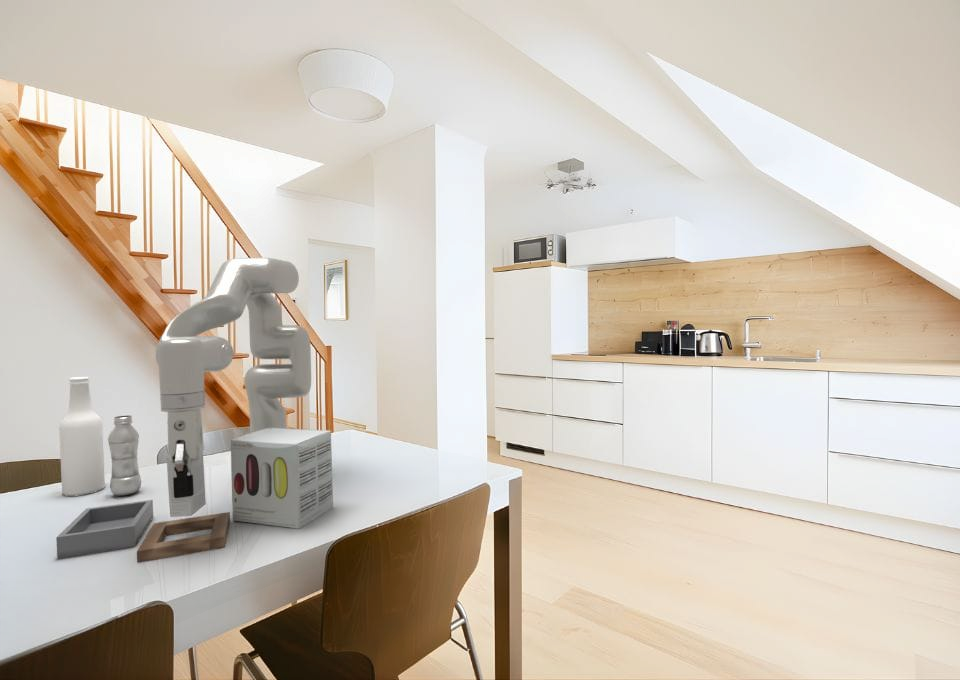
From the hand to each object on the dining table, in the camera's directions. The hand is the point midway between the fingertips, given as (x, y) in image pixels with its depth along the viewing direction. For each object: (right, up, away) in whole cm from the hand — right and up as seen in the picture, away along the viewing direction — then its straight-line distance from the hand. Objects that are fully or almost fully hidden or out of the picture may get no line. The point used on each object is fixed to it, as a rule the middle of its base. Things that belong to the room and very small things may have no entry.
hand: (187, 489), depth 98 cm
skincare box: (0, -5, 0) cm, 5 cm away
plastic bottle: (-33, -10, +28) cm, 44 cm away
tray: (-17, -10, +2) cm, 20 cm away
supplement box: (+14, -10, +13) cm, 21 cm away
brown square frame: (0, -10, 0) cm, 10 cm away
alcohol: (-46, -10, +32) cm, 57 cm away
